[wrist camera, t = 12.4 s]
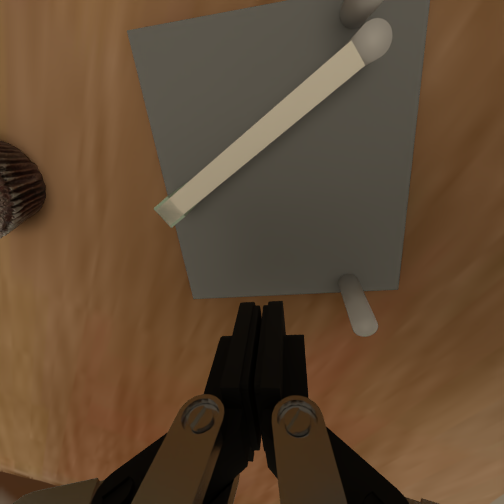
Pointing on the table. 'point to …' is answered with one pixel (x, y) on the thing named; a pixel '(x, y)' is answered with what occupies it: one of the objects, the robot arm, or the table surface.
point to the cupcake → (18, 188)
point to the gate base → (288, 147)
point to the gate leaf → (281, 117)
